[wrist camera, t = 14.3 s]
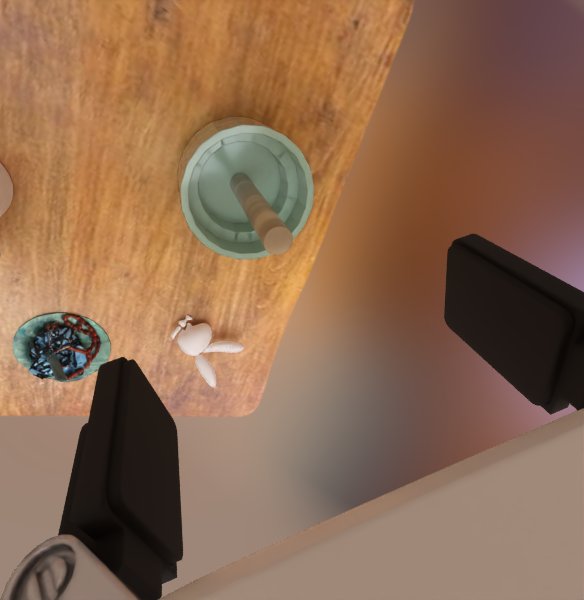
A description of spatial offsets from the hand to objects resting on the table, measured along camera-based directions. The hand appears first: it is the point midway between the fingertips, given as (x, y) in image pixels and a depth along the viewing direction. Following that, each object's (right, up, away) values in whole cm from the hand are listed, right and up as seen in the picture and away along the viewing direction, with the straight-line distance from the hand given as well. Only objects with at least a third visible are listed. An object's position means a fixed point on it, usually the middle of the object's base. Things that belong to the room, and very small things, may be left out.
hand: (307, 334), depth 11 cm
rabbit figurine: (-11, -3, +34) cm, 36 cm away
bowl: (-6, +13, +25) cm, 29 cm away
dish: (-25, -4, +29) cm, 38 cm away
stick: (-5, +12, +24) cm, 28 cm away
